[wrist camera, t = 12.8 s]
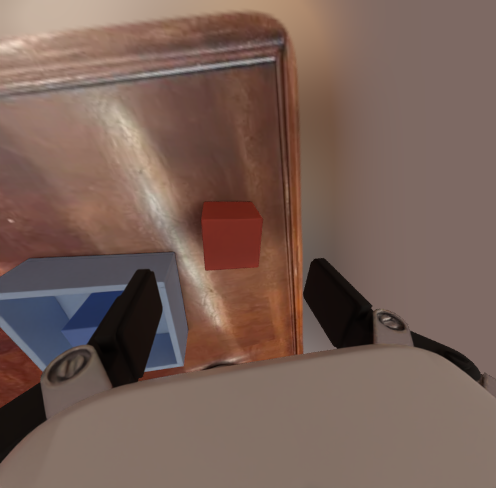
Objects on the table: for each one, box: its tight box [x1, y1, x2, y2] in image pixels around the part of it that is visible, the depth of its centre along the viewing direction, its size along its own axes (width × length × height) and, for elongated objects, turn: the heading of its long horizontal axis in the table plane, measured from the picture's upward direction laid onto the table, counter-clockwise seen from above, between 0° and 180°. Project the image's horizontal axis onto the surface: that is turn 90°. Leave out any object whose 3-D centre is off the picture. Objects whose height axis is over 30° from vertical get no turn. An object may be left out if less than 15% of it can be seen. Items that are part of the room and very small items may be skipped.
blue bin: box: [0, 252, 188, 372], centre depth 18 cm, size 12×12×4 cm
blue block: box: [61, 290, 124, 347], centre depth 17 cm, size 4×4×4 cm
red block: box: [201, 202, 263, 271], centre depth 16 cm, size 4×4×4 cm
